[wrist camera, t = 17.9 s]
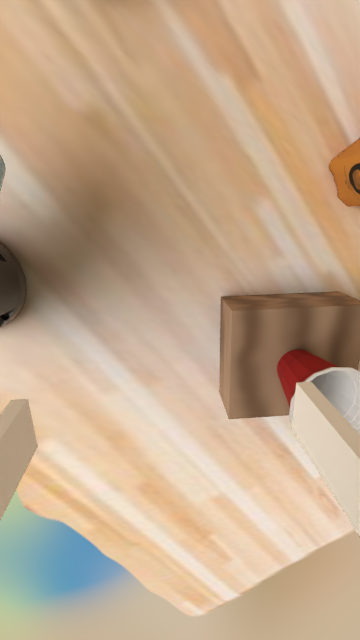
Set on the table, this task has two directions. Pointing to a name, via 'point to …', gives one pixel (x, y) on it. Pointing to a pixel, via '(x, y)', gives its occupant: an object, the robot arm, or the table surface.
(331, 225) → the table surface
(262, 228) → the table surface
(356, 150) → the coffee package
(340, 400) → the plastic cup
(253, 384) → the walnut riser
